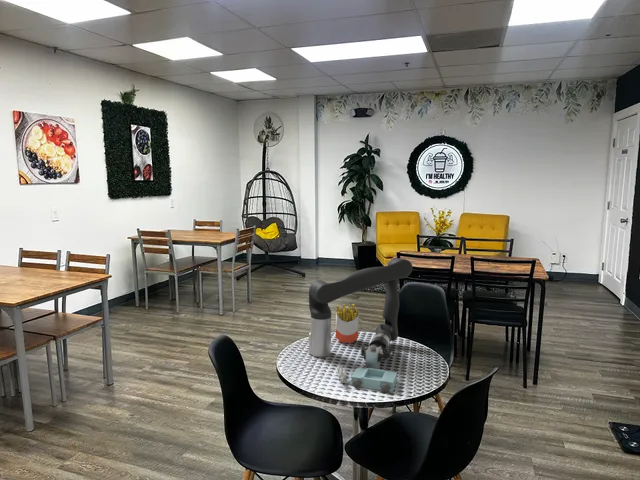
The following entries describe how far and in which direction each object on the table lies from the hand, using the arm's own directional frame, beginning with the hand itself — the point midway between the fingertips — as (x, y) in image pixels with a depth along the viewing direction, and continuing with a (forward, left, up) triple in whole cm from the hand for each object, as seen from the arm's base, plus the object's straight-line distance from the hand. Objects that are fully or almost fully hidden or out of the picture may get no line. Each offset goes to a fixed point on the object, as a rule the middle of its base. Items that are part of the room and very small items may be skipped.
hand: (371, 358), depth 176 cm
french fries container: (-19, +31, -6) cm, 37 cm away
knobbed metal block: (0, +3, -6) cm, 7 cm away
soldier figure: (-9, -10, -6) cm, 15 cm away
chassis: (+3, -8, -6) cm, 11 cm away
